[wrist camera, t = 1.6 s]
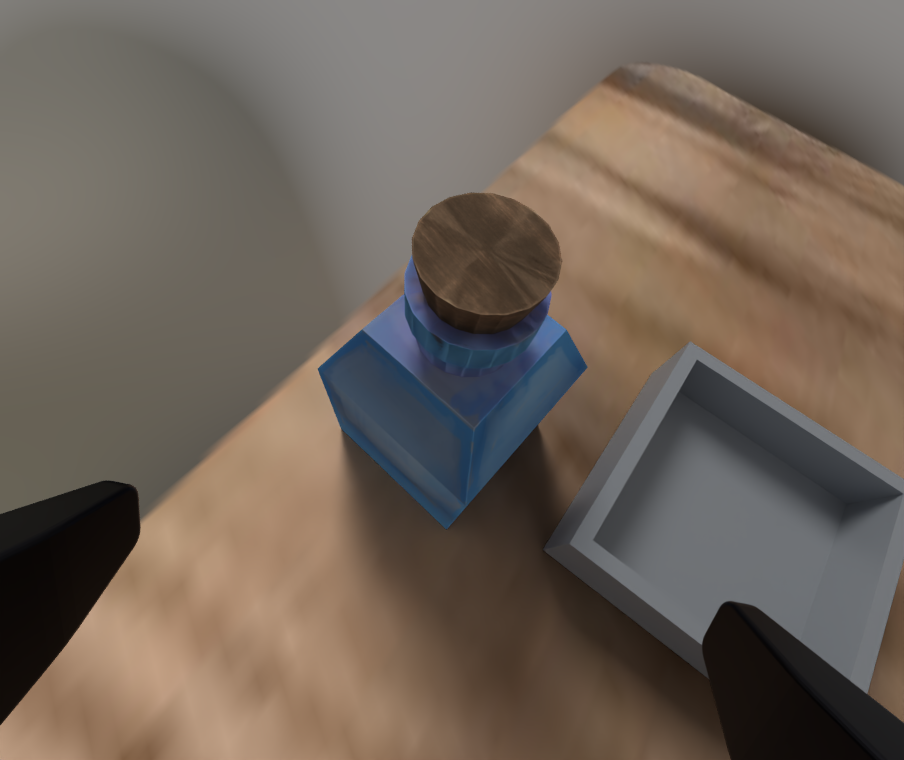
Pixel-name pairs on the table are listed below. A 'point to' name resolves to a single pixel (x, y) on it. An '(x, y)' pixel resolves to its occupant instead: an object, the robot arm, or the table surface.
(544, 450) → the table surface
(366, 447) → the perfume bottle
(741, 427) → the tray
